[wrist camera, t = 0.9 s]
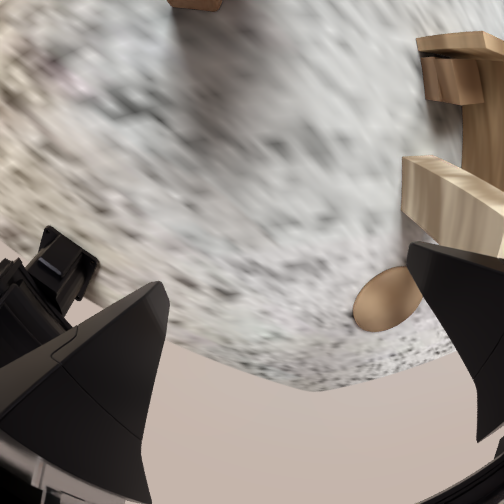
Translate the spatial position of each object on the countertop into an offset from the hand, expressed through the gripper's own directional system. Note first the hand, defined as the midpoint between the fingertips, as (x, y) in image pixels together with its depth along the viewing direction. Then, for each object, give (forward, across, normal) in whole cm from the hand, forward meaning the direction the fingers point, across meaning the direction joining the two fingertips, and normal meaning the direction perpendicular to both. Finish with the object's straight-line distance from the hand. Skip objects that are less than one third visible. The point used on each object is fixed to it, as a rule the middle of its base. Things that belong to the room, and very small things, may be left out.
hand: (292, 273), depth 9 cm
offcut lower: (+13, +16, +7) cm, 22 cm away
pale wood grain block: (+13, +14, -2) cm, 19 cm away
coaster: (+13, +12, -16) cm, 24 cm away
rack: (+13, +18, +2) cm, 22 cm away
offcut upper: (+11, +16, +7) cm, 21 cm away
